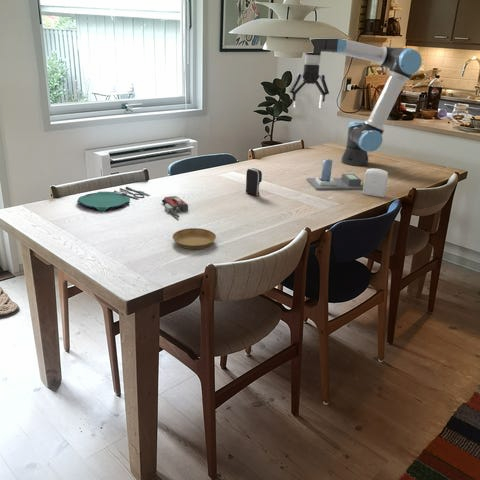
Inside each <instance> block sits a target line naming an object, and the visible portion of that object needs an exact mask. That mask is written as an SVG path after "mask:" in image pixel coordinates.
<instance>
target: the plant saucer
mask: <svg viewBox="0 0 480 480" xmlns="http://www.w3.org/2000/svg"><path fill="white" fill-rule="evenodd" d="M216 238H217V235H216V233H214V232H213V231H211V230H208V229H206V228H199V227H198V228H196V227H194V228H193V227H190V228H183V229H181V230H177V231H175V232H174V233H173V234H172V240H173V241H174V243H175V244H177V245H178V246H179V247H181V248H183V249H187V250H188V249H189V250H202V249H205V248H208V247H209V246H210V245H211V244H213V243H214V242H215V241H216Z"/></svg>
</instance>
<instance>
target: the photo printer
mask: <svg viewBox="0 0 480 480" xmlns="http://www.w3.org/2000/svg"><path fill="white" fill-rule="evenodd" d="M388 179H389V172H388V171H387V170H384V169H381V168H373V167H372V168H368V169H366V172H365V173H364V182H363V190H362V194H363V195H365V196H366V195H368V196H372V197H373V196H374V197H379V198H385V197H386V191H387V188H388V187H387V185H388Z"/></svg>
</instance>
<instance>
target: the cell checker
mask: <svg viewBox="0 0 480 480" xmlns="http://www.w3.org/2000/svg"><path fill="white" fill-rule="evenodd" d="M306 182H308V183H309V184H310V185H311V187H312V188H313V189H315V191H350V190H351V191H353V190H354V191H358V190H361V191H363V187H364V185H362V178H360V177H358V176H357V175H356V174H354V173H342V174H341V177H330V182H321V177H306Z"/></svg>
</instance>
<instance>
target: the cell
mask: <svg viewBox="0 0 480 480" xmlns="http://www.w3.org/2000/svg"><path fill="white" fill-rule="evenodd" d="M321 166H322V167H321V168H322V169H321V174H320V175H321V177H320V178H321V182H330V178H332V176H331V175H332V170H333V168H332V167H333V160H332V159H331V158H325V159H323V160H322V165H321Z"/></svg>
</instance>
